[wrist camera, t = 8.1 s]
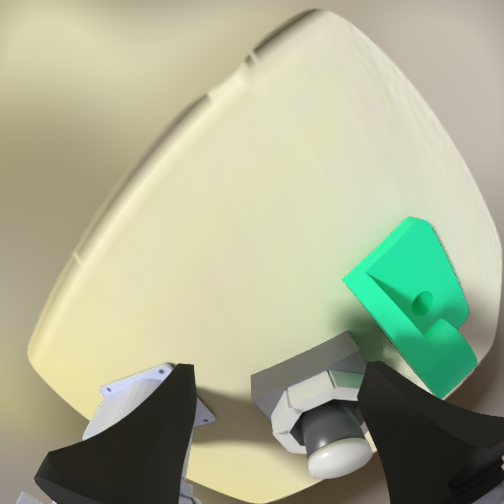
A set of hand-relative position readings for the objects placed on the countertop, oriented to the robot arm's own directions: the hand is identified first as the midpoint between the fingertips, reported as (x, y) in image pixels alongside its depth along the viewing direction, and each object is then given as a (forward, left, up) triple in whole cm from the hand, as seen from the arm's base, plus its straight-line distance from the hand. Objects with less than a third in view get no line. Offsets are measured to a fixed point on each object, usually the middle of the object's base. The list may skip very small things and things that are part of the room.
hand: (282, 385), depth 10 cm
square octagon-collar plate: (0, -11, -10) cm, 15 cm away
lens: (0, -11, -7) cm, 13 cm away
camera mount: (+11, -6, -11) cm, 16 cm away
